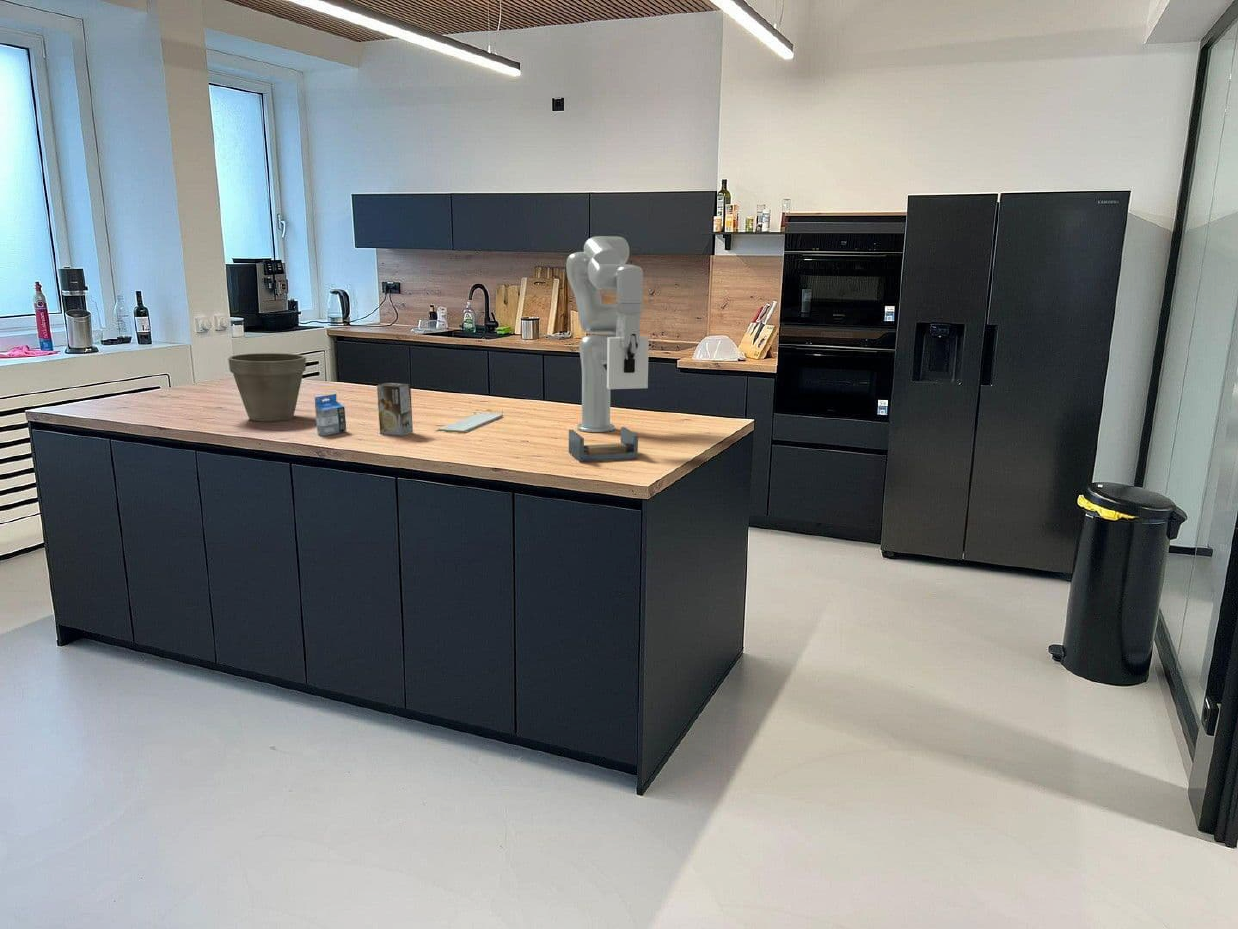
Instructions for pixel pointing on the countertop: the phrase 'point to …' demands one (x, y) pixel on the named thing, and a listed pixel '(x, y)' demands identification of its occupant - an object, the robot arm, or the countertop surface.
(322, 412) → the label tape box
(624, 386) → the white rectangular panel
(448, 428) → the baseboard molding
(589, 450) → the offcut stack
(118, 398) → the countertop surface
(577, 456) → the offcut rack
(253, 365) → the plant pot
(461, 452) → the countertop surface
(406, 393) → the coffee box
